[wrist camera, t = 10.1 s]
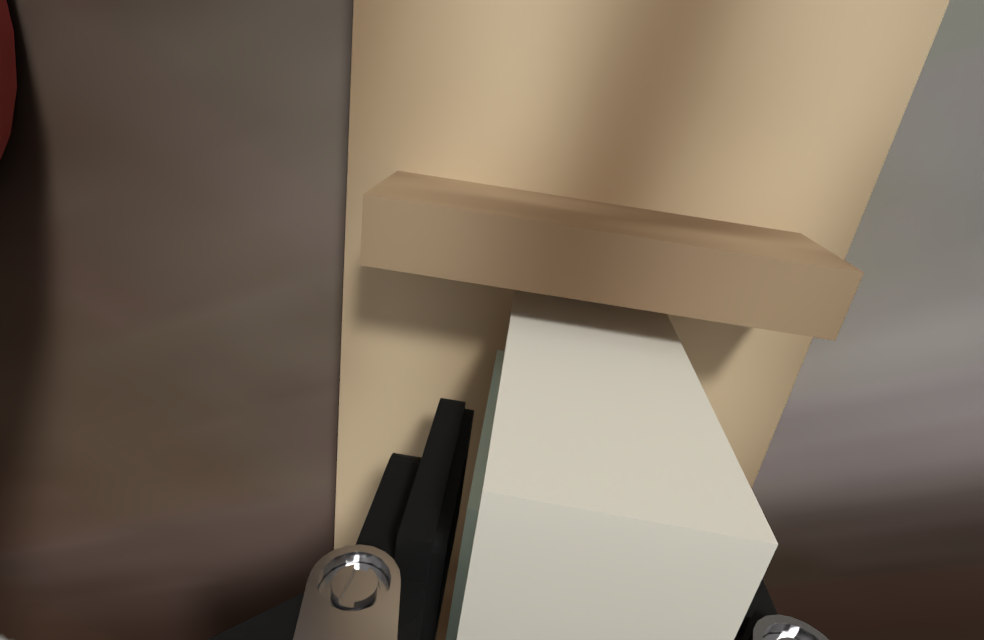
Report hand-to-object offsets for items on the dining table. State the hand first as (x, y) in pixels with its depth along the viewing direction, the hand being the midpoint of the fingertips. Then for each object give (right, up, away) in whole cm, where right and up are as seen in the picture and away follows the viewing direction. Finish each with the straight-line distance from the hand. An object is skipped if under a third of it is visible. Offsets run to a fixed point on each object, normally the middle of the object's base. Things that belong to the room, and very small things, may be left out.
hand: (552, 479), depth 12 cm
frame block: (0, +1, +2) cm, 2 cm away
